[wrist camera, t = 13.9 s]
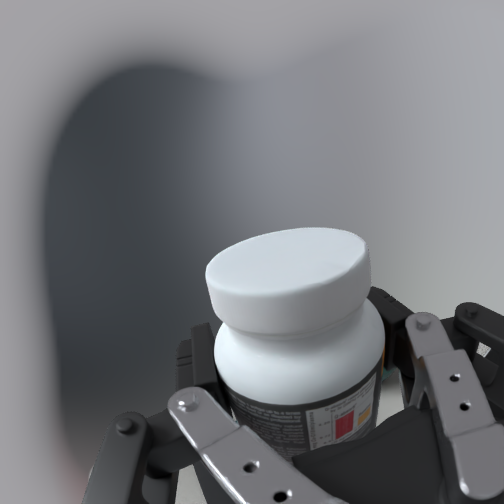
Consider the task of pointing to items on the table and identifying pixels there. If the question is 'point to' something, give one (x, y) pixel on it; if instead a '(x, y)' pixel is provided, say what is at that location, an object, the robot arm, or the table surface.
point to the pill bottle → (298, 337)
